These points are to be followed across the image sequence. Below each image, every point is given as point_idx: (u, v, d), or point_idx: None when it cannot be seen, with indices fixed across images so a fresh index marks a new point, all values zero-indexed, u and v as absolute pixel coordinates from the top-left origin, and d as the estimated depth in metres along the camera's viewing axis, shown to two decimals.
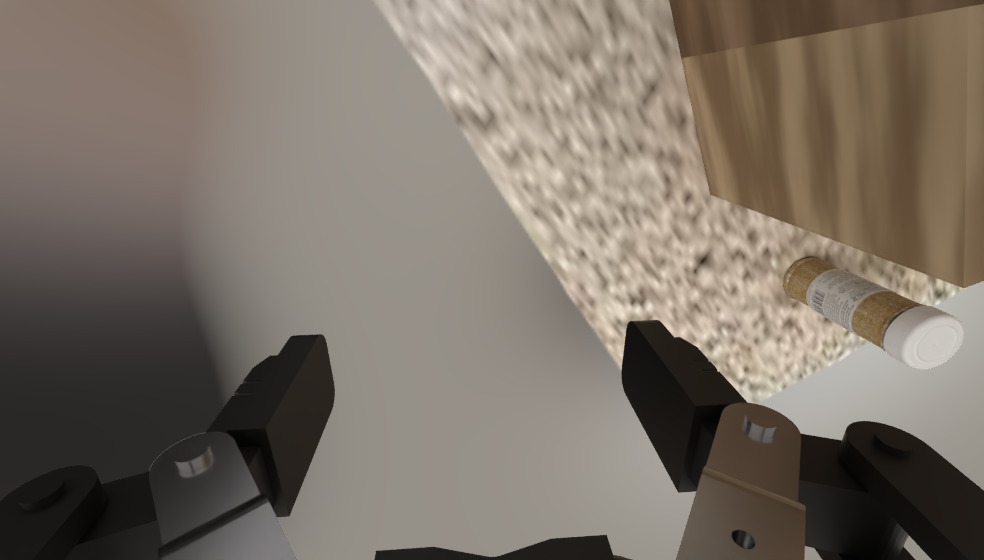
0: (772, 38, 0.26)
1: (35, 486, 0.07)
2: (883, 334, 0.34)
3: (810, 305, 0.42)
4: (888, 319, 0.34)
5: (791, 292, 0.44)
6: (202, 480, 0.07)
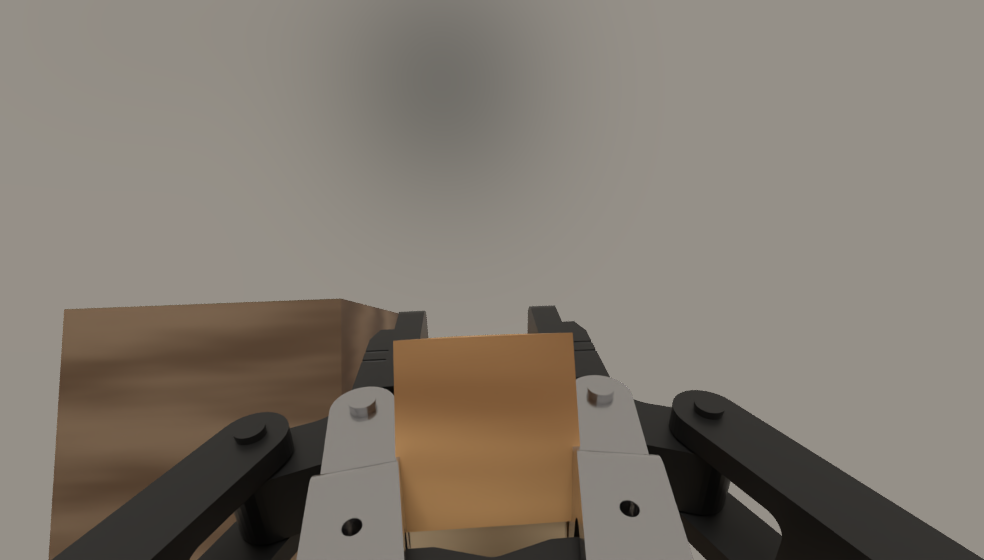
0: None
1: (246, 424, 0.08)
2: None
3: None
4: None
5: None
6: (363, 428, 0.08)
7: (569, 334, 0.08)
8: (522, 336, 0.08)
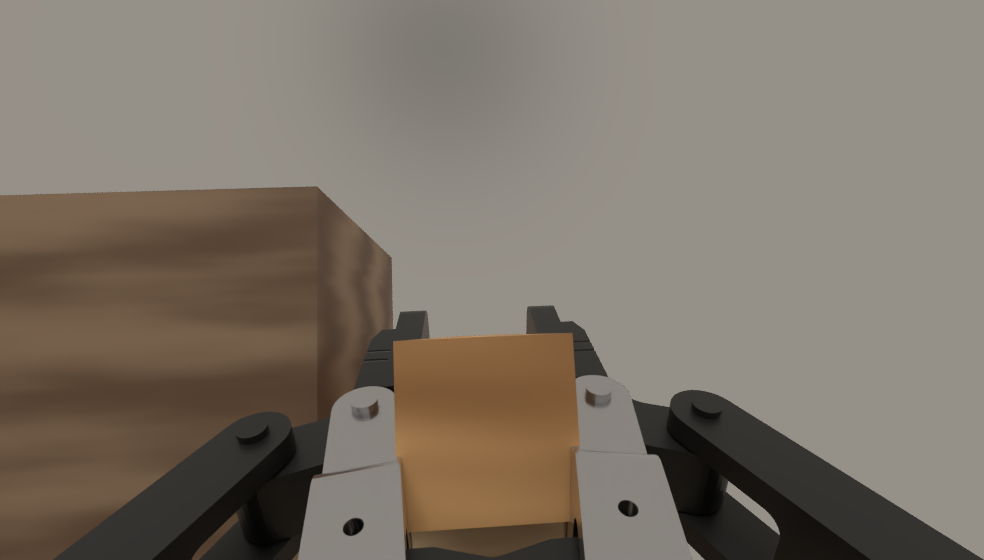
0: None
1: (249, 423, 0.08)
2: None
3: None
4: None
5: None
6: (365, 428, 0.08)
7: (569, 334, 0.08)
8: (522, 336, 0.08)
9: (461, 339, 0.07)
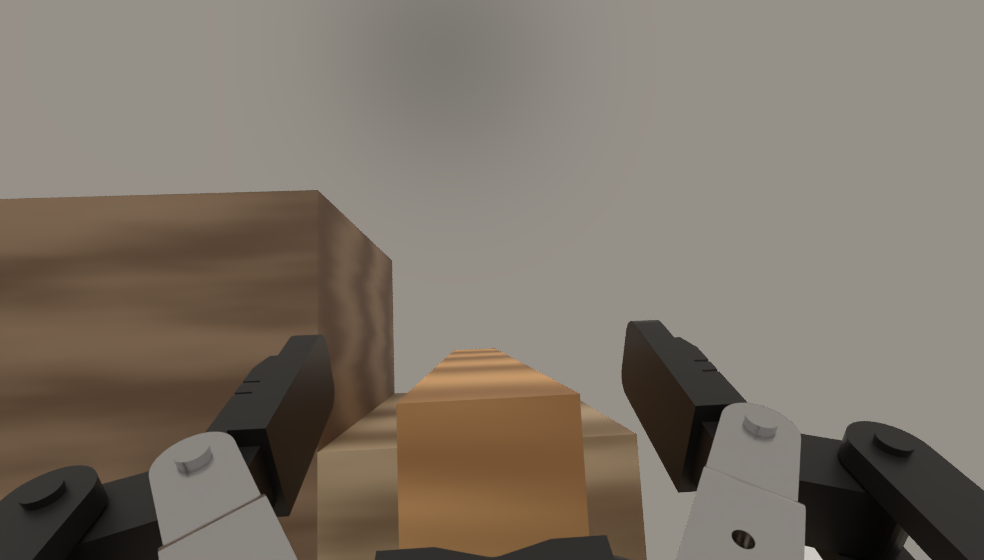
0: None
1: (35, 486, 0.07)
2: None
3: None
4: None
5: None
6: (203, 480, 0.07)
7: (576, 396, 0.07)
8: (528, 398, 0.07)
9: (466, 401, 0.07)
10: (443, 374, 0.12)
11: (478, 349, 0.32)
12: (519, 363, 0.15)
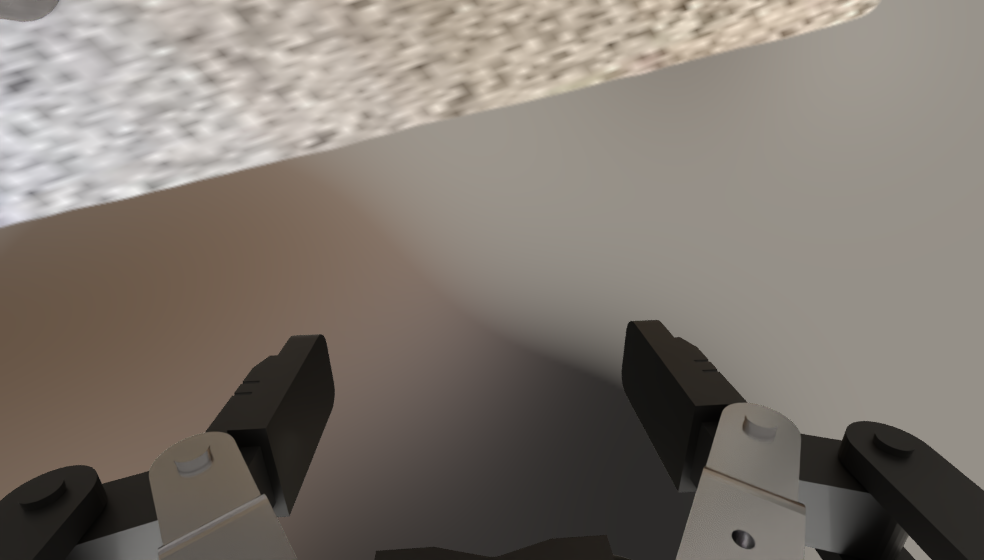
0: None
1: (35, 486, 0.07)
2: None
3: None
4: None
5: None
6: (202, 480, 0.07)
7: None
8: None
9: None
10: None
11: None
12: None
